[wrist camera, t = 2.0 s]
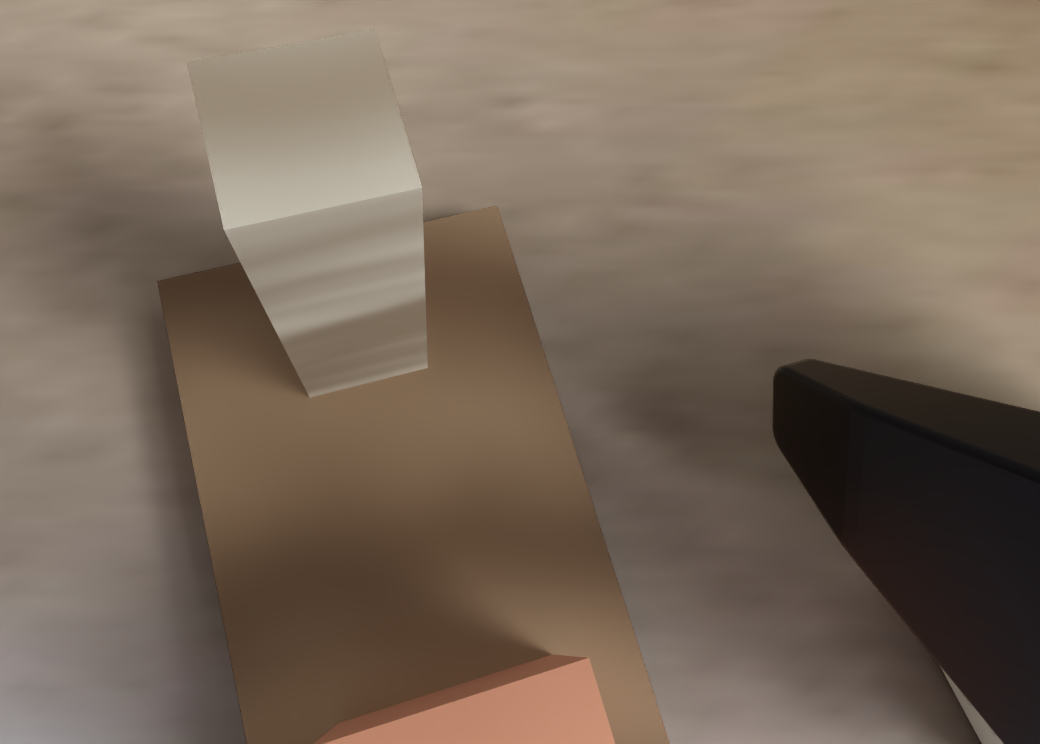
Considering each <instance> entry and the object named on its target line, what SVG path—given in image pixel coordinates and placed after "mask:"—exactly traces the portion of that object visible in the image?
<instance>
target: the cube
mask: <svg viewBox="0 0 1040 744" xmlns="http://www.w3.org/2000/svg"><path fill="white" fill-rule="evenodd" d="M314 744H615V741H614V738H613V735H612V731H611V728H610V725H609V721H608V718H607V715H606V712H605V708H604V705H603V702H602V698H601V695H600V692H599V689H598V685H597V682H596V679H595V676H594V672H593V669H592V666H591V662H590V659H589V658H587V657H575V656H564V655H549V656H546V657H543V658H540V659H537V660H534V661H531V662H528V663H524V664H521V665H518V666H515V667H512V668H509V669H506V670H503V671H500V672H496V673H493V674H490V675H487V676H484V677H481V678H478V679H475V680H471V681H468V682H465V683H462V684H459V685H456V686H453V687H450V688H446V689H443V690H440V691H437V692H434V693H431V694H428V695H425V696H421V697H418V698H415V699H412V700H409V701H406V702H403V703H400V704H396V705H393V706H390V707H387V708H384V709H381V710H378V711H375V712H372V713H368V714H365V715H362V716H359V717H356V718H353V719H350V720H347V721H343V722H340V723H338V724H337V725H336V726H335V727H333V728H332V729H331V730H330V731H328V732H327V733H326V734H325V735H323V736H322V737H321V738H320V739H319V740H317V741H316V742H315V743H314Z"/></svg>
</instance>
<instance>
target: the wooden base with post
mask: <svg viewBox="0 0 1040 744" xmlns="http://www.w3.org/2000/svg"><path fill="white" fill-rule="evenodd" d="M187 65H188V70H189V74H190V79H191V83H192V88H193V92H194V97H195V101H196V106H197V110H198V115H199V119H200V124H201V129H202V133H203V138H204V142H205V147H206V151H207V156H208V160H209V165H210V169H211V174H212V178H213V183H214V187H215V192H216V196H217V201H218V205H219V210H220V215H221V219H222V224H223V228H224V231H225V233H226V235H227V237H228V239H229V241H230V243H231V245H232V247H233V249H234V251H235V253H236V255H237V257H238V259H239V261H240V262H241V263H237V264H232V265H228V266H223V267H219V268H214V269H210V270H205V271H201V272H196V273H192V274H187V275H183V276H178V277H174V278H169V279H165V280H160V281H157V282H158V287H159V292H160V298H161V303H162V308H163V313H164V318H165V323H166V329H167V334H168V339H169V344H170V349H171V354H172V360H173V365H174V370H175V375H176V380H177V385H178V391H179V396H180V401H181V406H182V411H183V416H184V422H185V427H186V432H187V437H188V442H189V447H190V453H191V458H192V463H193V468H194V473H195V478H196V484H197V489H198V494H199V499H200V504H201V509H202V515H203V520H204V525H205V530H206V535H207V540H208V546H209V551H210V556H211V561H212V566H213V571H214V577H215V582H216V587H217V592H218V597H219V602H220V608H221V613H222V618H223V623H224V628H225V633H226V639H227V644H228V649H229V654H230V659H231V664H232V670H233V675H234V680H235V685H236V690H237V695H238V701H239V706H240V711H241V716H242V721H243V726H244V732H245V737H246V742H247V744H314V743H315V742H316V741H317V740H319V739H320V738H321V737H322V736H323V735H325V734H326V733H327V732H328V731H330V730H331V729H332V728H333V727H335V726H336V725H337V724H338V723H340V722H343V721H347V720H350V719H353V718H356V717H359V716H362V715H365V714H368V713H372V712H375V711H378V710H381V709H384V708H387V707H390V706H393V705H396V704H400V703H403V702H406V701H409V700H412V699H415V698H418V697H421V696H425V695H428V694H431V693H434V692H437V691H440V690H443V689H446V688H450V687H453V686H456V685H459V684H462V683H465V682H468V681H471V680H475V679H478V678H481V677H484V676H487V675H490V674H493V673H496V672H500V671H503V670H506V669H509V668H512V667H515V666H518V665H521V664H524V663H528V662H531V661H534V660H537V659H540V658H543V657H546V656H549V655H564V656H575V657H587V658H589V659H590V662H591V666H592V669H593V672H594V676H595V679H596V682H597V685H598V689H599V692H600V695H601V698H602V702H603V705H604V708H605V712H606V715H607V718H608V721H609V725H610V728H611V731H612V735H613V738H614V741H615V744H670V743H669V740H668V737H667V734H666V731H665V727H664V724H663V721H662V718H661V715H660V712H659V709H658V706H657V702H656V699H655V696H654V693H653V690H652V687H651V684H650V681H649V678H648V674H647V671H646V668H645V665H644V662H643V659H642V656H641V653H640V649H639V646H638V643H637V640H636V637H635V634H634V631H633V628H632V625H631V621H630V618H629V615H628V612H627V609H626V606H625V603H624V600H623V597H622V593H621V590H620V587H619V584H618V581H617V578H616V575H615V572H614V568H613V565H612V562H611V559H610V556H609V553H608V550H607V547H606V544H605V540H604V537H603V534H602V531H601V528H600V525H599V522H598V519H597V515H596V512H595V509H594V506H593V503H592V500H591V497H590V494H589V491H588V487H587V484H586V481H585V478H584V475H583V472H582V469H581V466H580V462H579V459H578V456H577V453H576V450H575V447H574V444H573V441H572V438H571V434H570V431H569V428H568V425H567V422H566V419H565V416H564V413H563V409H562V406H561V403H560V400H559V397H558V394H557V391H556V388H555V385H554V381H553V378H552V375H551V372H550V369H549V366H548V363H547V360H546V356H545V353H544V350H543V347H542V344H541V341H540V338H539V335H538V332H537V328H536V325H535V322H534V319H533V316H532V313H531V310H530V307H529V303H528V300H527V297H526V294H525V291H524V288H523V285H522V282H521V279H520V275H519V272H518V269H517V266H516V263H515V260H514V257H513V254H512V250H511V247H510V244H509V241H508V238H507V235H506V232H505V229H504V226H503V222H502V219H501V216H500V213H499V210H498V207H497V206H493V207H489V208H484V209H480V210H475V211H471V212H466V213H462V214H457V215H453V216H448V217H444V218H439V219H435V220H430V221H426V222H423V199H422V185H421V182H420V179H419V175H418V172H417V169H416V165H415V162H414V158H413V155H412V152H411V148H410V145H409V142H408V138H407V135H406V131H405V128H404V125H403V121H402V118H401V114H400V111H399V108H398V104H397V101H396V98H395V94H394V91H393V87H392V84H391V81H390V77H389V74H388V71H387V67H386V64H385V60H384V57H383V54H382V50H381V47H380V43H379V40H378V37H377V33H376V30H375V29H370V30H364V31H359V32H353V33H347V34H342V35H336V36H331V37H325V38H320V39H314V40H309V41H303V42H297V43H292V44H286V45H281V46H275V47H270V48H264V49H259V50H253V51H247V52H242V53H236V54H231V55H225V56H220V57H214V58H209V59H203V60H197V61H192V62H187Z"/></svg>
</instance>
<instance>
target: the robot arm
mask: <svg viewBox="0 0 1040 744" xmlns="http://www.w3.org/2000/svg"><path fill="white" fill-rule="evenodd" d="M773 433H774V437H775V440H776V443H777V445H778V447H779V449H780V450H781V452H782V453H783V455H784V456H785V458H786V460H787V461H788V463H789V464H790V466H791V467H792V469H793V470H794V472H795V474H796V475H797V477H798V478H799V480H800V481H801V483H802V484H803V486H804V488H805V489H806V491H807V492H808V494H809V495H810V497H811V498H812V500H813V502H814V503H815V505H816V506H817V508H818V509H819V511H820V512H821V514H822V516H823V517H824V519H825V520H826V522H827V523H828V525H829V526H830V528H831V530H832V531H833V532H834V534H835V535H836V537H837V538H838V540H839V541H840V543H841V544H842V545H843V547H844V548H845V549H846V551H847V552H848V553H849V554H850V556H851V557H852V558H853V560H854V561H855V562H856V563H857V565H858V566H859V567H860V568H861V570H862V571H863V572H864V573H865V574H866V576H867V577H868V578H869V579H870V581H871V582H872V583H873V584H874V585H875V587H876V588H877V589H878V590H879V592H880V593H881V594H882V595H883V597H884V598H885V599H886V600H887V601H888V603H889V604H890V605H891V606H892V608H893V609H894V610H895V611H896V612H897V614H898V615H899V616H900V617H901V619H902V620H903V621H904V622H905V624H906V625H907V626H908V627H909V628H910V630H911V631H912V632H913V633H914V635H915V636H916V637H917V638H918V639H919V641H920V642H921V643H922V644H923V646H924V647H925V648H926V649H927V651H928V652H929V653H930V654H931V655H932V657H933V658H934V659H935V660H936V662H937V663H938V664H939V665H940V666H941V668H942V669H943V670H944V671H945V673H946V674H947V675H948V676H949V678H950V679H951V680H952V681H953V682H954V684H955V685H956V686H957V687H958V689H959V690H960V691H961V692H962V693H963V695H964V696H965V697H966V698H967V700H968V701H969V702H970V703H971V705H972V706H973V707H974V708H975V709H976V711H977V712H978V713H979V714H980V716H981V717H982V718H983V719H984V720H985V722H986V723H987V724H988V725H989V727H990V728H991V729H992V730H993V732H994V733H995V734H996V735H997V736H998V738H999V739H1000V740H1001V741H1002V743H1003V744H1040V412H1039V411H1034V410H1030V409H1026V408H1021V407H1017V406H1013V405H1008V404H1004V403H1000V402H995V401H991V400H987V399H982V398H978V397H974V396H970V395H965V394H961V393H957V392H952V391H948V390H944V389H939V388H935V387H931V386H926V385H922V384H918V383H914V382H909V381H905V380H901V379H896V378H892V377H888V376H883V375H879V374H875V373H870V372H866V371H862V370H857V369H853V368H849V367H845V366H840V365H836V364H832V363H827V362H823V361H819V360H814V359H805V360H801V361H797V362H794V363H790V364H787V365H783V366H780V367H779V368H778V369H777V370H776V371H775V374H774V378H773Z"/></svg>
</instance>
